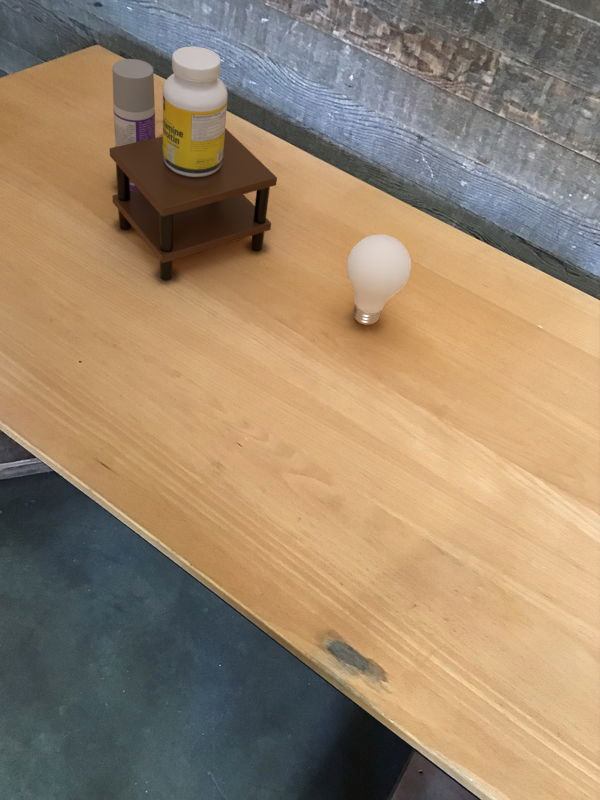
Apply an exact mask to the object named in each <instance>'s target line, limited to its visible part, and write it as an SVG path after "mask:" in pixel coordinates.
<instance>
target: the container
mask: <svg viewBox="0 0 600 800" xmlns="http://www.w3.org/2000/svg"><path fill="white" fill-rule="evenodd" d="M111 69H112V102H113V103H112V104H113V105H112V106H113V110H112V111H113V124H114V142H115V144H114V145H115V146H114V147H117V146H122V145H126V144H131V143H135V142H140V141H144V140H148V139H153V138H156V103H155V102H156V101H155V78H154V67H153V65H151V64H150V63H149V62H146V61H145V60H141V59H136V58H125V59H121V60H118V61H115V63H113V64H112V67H111ZM136 189H138V188H137V187H136V186H135V185H134V183H133V182H132V181H131V180H130V191H132V190H136Z"/></svg>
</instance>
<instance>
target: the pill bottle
mask: <svg viewBox="0 0 600 800" xmlns="http://www.w3.org/2000/svg"><path fill="white" fill-rule="evenodd" d="M221 61H222V60H221V57H220V55H219V54H218V53H217V52H215V51H213V50H211V49H208V48H204V47H201V46H184V47H179V48H178V49H176V50H175V51H174V52H173V53H172V57H171V69H172V72H173V73H172V74H171V75H169V76H168V77H167V78H166V79H165V81H164V83H163V86H162V136H163V159H164V162H165V163H166V165H167V166H168V167H169V168H170V169H171V170H172V171H174V172H176V173H178V174H181V175H184V176H189V177H203V176H207V175H210V174H213V173H214V172H216V171H217V170H218V169H219V168H220V167H221V165H222V162H223V152H224V137H225V128H226V123H227V111H228V89H227V87H226V85H225V83H224V81H222V79H220V74H221V68H222V67H221V64H222V62H221Z"/></svg>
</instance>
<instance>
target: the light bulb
mask: <svg viewBox="0 0 600 800" xmlns="http://www.w3.org/2000/svg"><path fill="white" fill-rule="evenodd" d="M346 272H347V278H348V280H349V282H350V284H351V286H352V288H353V291H354V299H353V301H354V305H353V310H352V316H353V318H354V319H355V321H356V322H357V323H359V324H362V325H365V326H370V325H374V324H375V323H377V321H378V320H379V319H380V317H381V312H382V310H383V309H384V308H385V306H386V304H387V302H388V301H389V300H390V299H392V298H393V297H394V296H396V294H398V293H399V292H401V291H402V290H403V289H404V287H405V286H406V285H407V284H408V281H409V279H410V277H411V272H412V260H411V256H410V254H409V251H408V249H407V248H406V246H405V245H404V244H403V242H401V241H400V240H399V239H397V238H395V237H393V236H391V235H388V234H381V233H379V234H371V235H368V236H366V237H364V238H362V239H361V240H359V241H358V242H357V243H356V244H355V245H354V246H353V248H352V249H351V251H350V252H349V254H348V258H347V263H346Z"/></svg>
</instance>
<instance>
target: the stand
mask: <svg viewBox="0 0 600 800" xmlns="http://www.w3.org/2000/svg"><path fill="white" fill-rule="evenodd" d="M109 157H110V158H111V159H112V160H113V162H115V172H116V174H115V175H116V190H117V191H116V192H117V194H113V195H111V196H112V198H111V199H112V203H113V205H114V206H115V207H116V208H117V210H118V226H119V229H120V230H123V231H129V230H131V229H132V228H133V229H134V231H135V232H136V233H137V234H138V236H140V237H141V239H142V240H143V241H144V243H146V245H147V246H148V248H150V250H151V251H152V252H153V254H154V255H155V256H156V257H157V258H158V260H159V278H160V279H161V281H165V282H169V281H171V280H172V279H173V277H174V275H173V274H174V273H173V271H174V270H173V269H174V265H173V263H174V260H178V259H181V258H183V257H187V256H190V255H193V254H196V253H199V252H203V251H206V250H210V249H213V248H216V247H219V246H223V245H226V244H229V243H232V242H235V241H239V240H242V239H245V238H248V237H251V241H250V250H252V252H261V251H262V250H263V246H264V241H265V240H264V239H265V232H268V231H270V230H271V228H272V222H271V221H270V220H269V219H268V218H267V216H268V215H267V214H268V205H269V197H270V189H271V187H274V186H277V181H278V177H277V176H276V174H274V173H273V172H272V171H271V170H270V169H269V168H268V167H267V166H266V165H264V164H263V162H262V161H261V160H259V158H257V157H256V156H255V155H254V154H253V153H252V152H251V151H250V149H248V148H247V147H246V146H245V145H244V144H243V143H242V142H241V141H240V140H239V139H237V137H236V136H235V135H233V134H232V132H231V131H229V130H228V129H227V128H226V127H225V137H224V152H223V162H222V165H221V167H220V168H219V169H218V170H217V171H216V172H214V173H213V174H210V175H207V176H203V177H189V176H184V175H181V174H178V173H176V172H174V171H172V170H171V169H170V168H169V167H168V166H167V165H166V163H165V162H164V159H163V135H162V136H158V137H155V138H153V139H148V140H144V141H140V142H135V143H131V144H126V145H122V146H117V147H115V146H114V147H110V148H109ZM130 180H131V181H132V182H133V183H134V185H135V186H136V187H137V188H138V189H136V190H132V191H130ZM254 192H255V200H254V201H255V203H254V204H253V202H251V200H250V199H249V198H248V197H246V196H245V195H246V194H250V193H254Z"/></svg>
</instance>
